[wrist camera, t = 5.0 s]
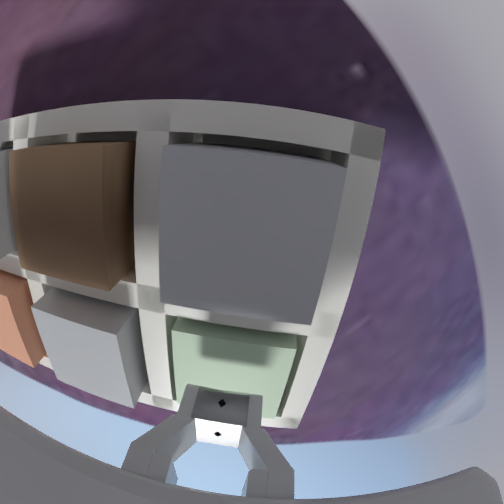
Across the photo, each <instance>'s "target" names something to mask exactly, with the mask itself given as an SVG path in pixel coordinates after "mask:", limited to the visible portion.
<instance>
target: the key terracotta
mask: <svg viewBox="0 0 504 504" xmlns="http://www.w3.org/2000/svg"><path fill="white" fill-rule="evenodd" d="M33 304H34V303H33V300H32V296H31V292H30V288H29V284H28V280H27V278H24V277H21V276H18V275H15V274H12V273H9V272H6V271H4V270H1V269H0V349H1V350H3V351H4V352H6V353H8V354H10V355H11V356H13V357H15V358H17V359H18V360H20V361H22V362H24V363H26V364H28V365H29V366H31V367H33V368H35V367H36V365H37V364H38V363H39V362H40V360H41V359H42V358H43V357H44V356H45V355H46V350H45V348H44V345H43V342H42V340H41V337H40V334H39V331H38V328H37V325H36V322H35V319H34V316H33V313H32V309H31V306H32V305H33Z"/></svg>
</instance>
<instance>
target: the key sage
mask: <svg viewBox="0 0 504 504" xmlns="http://www.w3.org/2000/svg"><path fill="white" fill-rule="evenodd" d="M171 331H172V349H173V364H174V376H175V388H176V398H177V403H178V404H180V403H181V400H182V397H183V394H184V390H185V387H186V385H187V384H193V385H198V386H203V387H208V388H213V389H218V390H223V391H225V390H226V391H234V392H242V393H249V394H256V395H262V396H263V405H262V418H271V419H275V417H276V414H277V411H278V408H279V405H280V402H281V399H282V396H283V393H284V389H285V386H286V383H287V380H288V377H289V373H290V370H291V367H292V364H293V360H294V357H295V353H296V350H297V347H296V334H287V333H279V332H271V331H263V330H256V329H249V328H242V327H235V326H229V325H222V324H216V323H210V322H204V321H199V320H193V319H188V318H182V317H178V318H177V320H176V322H175V324H174V326H173V328H172V330H171Z"/></svg>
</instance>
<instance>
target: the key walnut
mask: <svg viewBox="0 0 504 504" xmlns="http://www.w3.org/2000/svg"><path fill="white" fill-rule="evenodd" d="M135 151H136V141H86V142H67V143H53V144H46V145H40V146H34V147H28V148H22V149H17V150H12V151H9V183H10V198H11V209H12V218H13V226H14V233H15V240H16V246H17V251H18V256H19V262H20V266H21V268H22V269H26V270H29V271H33V272H36V273H39V274H43V275H46V276H50V277H54V278H57V279H61V280H65V281H69V282H72V283H76V284H80V285H84V286H88V287H92V288H96V289H101V290H105V291H110V290H111V289H112V288H113V287H114V286H115V285H116V284H117V283H118V282H119V281H120V280H121V279H122V278H123V277H124V276H125V275H126V274H127V273H128V272H129V271H130V270H131V269H132V268H133V267H134V265H135V249H134V170H135Z"/></svg>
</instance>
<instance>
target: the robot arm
mask: <svg viewBox="0 0 504 504" xmlns="http://www.w3.org/2000/svg"><path fill="white" fill-rule="evenodd" d="M262 405H263V396H262V395H256V394H249V393H242V392H234V391H226V390H225V391H223V390H218V389H213V388H208V387H203V386H198V385H193V384H187V385H186V387H185V390H184V394H183V397H182V400H181V403H180V406H179V409H178V412H177V415H175V414H173V415H171V416H170V417H168V418H167V419H166V420H164V421H163V422H161V423H160V424H158V425H157V426H155V427H154V428H153V429H151V430H150V431H148V432H147V433H145V434H144V435H142V436H141V437H139V438H138V439H136V440H134V441H133V442H131V444H130V447H129V449H128V452H127V455H126V457H125V460H124V462H123V465H122V467H121V469H120V468H117V467H115V466H112V465H110V464H107V463H104V462H102V461H99V460H97V459H94V458H92V457H90V456H88V455H85V454H83V453H81V452H79V451H77V450H74V449H72V448H70V447H68V446H66V445H64V444H62V443H60V442H58V441H56V440H54V439H53V438H51V437H49V436H47V435H46V434H44V433H42V432H40V431H38V430H37V429H35V428H33V427H32V426H30V425H28V424H27V423H25V422H23V421H22V420H21V419H19V418H17V417H16V416H14V415H13V414H12V413H10V412H8V411H7V410H6V409H4V408H3V407H1V406H0V504H503V502H502V498H501V494H500V490H499V487H498V484H497V482H496V480H495V479H494V478H492V477H491V476H490V475H489V474H487V473H486V472H485V471H483V470H482V469H480V468H478V467H471V468H468V469H465V470H462V471H460V472H457V473H454V474H451V475H448V476H445V477H442V478H438V479H435V480H432V481H428V482H424V483H421V484H417V485H413V486H408V487H404V488H400V489H395V490H389V491H384V492H379V493H372V494H366V495H357V496H350V497H338V498H323V499H294V470H293V468H292V467H291V466H290V465H289V463H288V462H287V460H286V459H285V458H284V456H283V455H282V453H281V452H280V451H279V449H278V448H277V446H276V445H275V443H274V442H273V440H272V439H271V438H270V436H269V435H268V433H267V432H266V430H265V429H261V420H262ZM196 441H201V442H207V443H214V444H220V445H226V446H231V447H238V450H239V452H240V453H241V455H242V457H243V459H244V461H245V463H246V465H247V467H248V469H249V470H250V471H249V472H248V475H247V478H246V481H245V484H244V487H243V489H242V496H234V495H226V494H220V493H213V492H207V491H201V490H196V489H191V488H187V487H182V486H177V485H176V483H177V475H176V472H175V468H174V464H173V462H174V461H176V460H177V459H178V458H179V457H180V456H181V455H182V454H183V453H185V452H186V451H187V450H188V449H189V448H190V447H191V446H192V445H193V444H194V443H196Z"/></svg>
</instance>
